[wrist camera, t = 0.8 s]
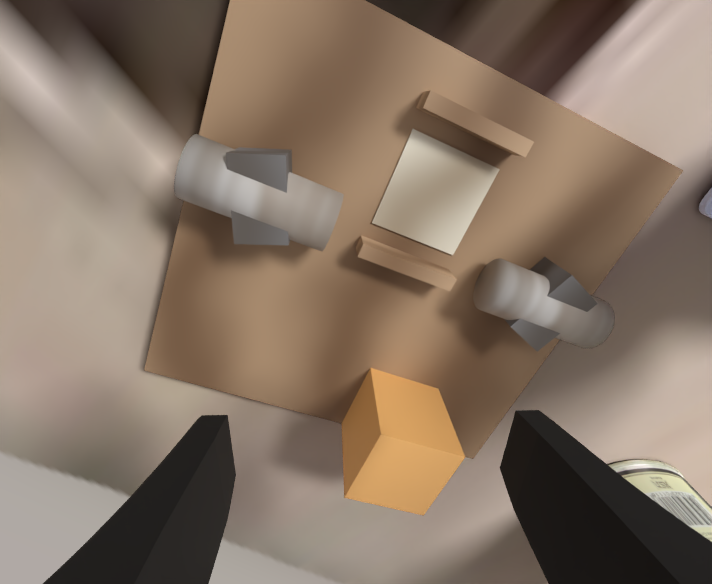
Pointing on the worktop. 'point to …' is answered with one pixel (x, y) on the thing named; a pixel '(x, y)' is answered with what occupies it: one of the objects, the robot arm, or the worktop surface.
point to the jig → (387, 219)
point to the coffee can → (669, 492)
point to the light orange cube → (398, 444)
